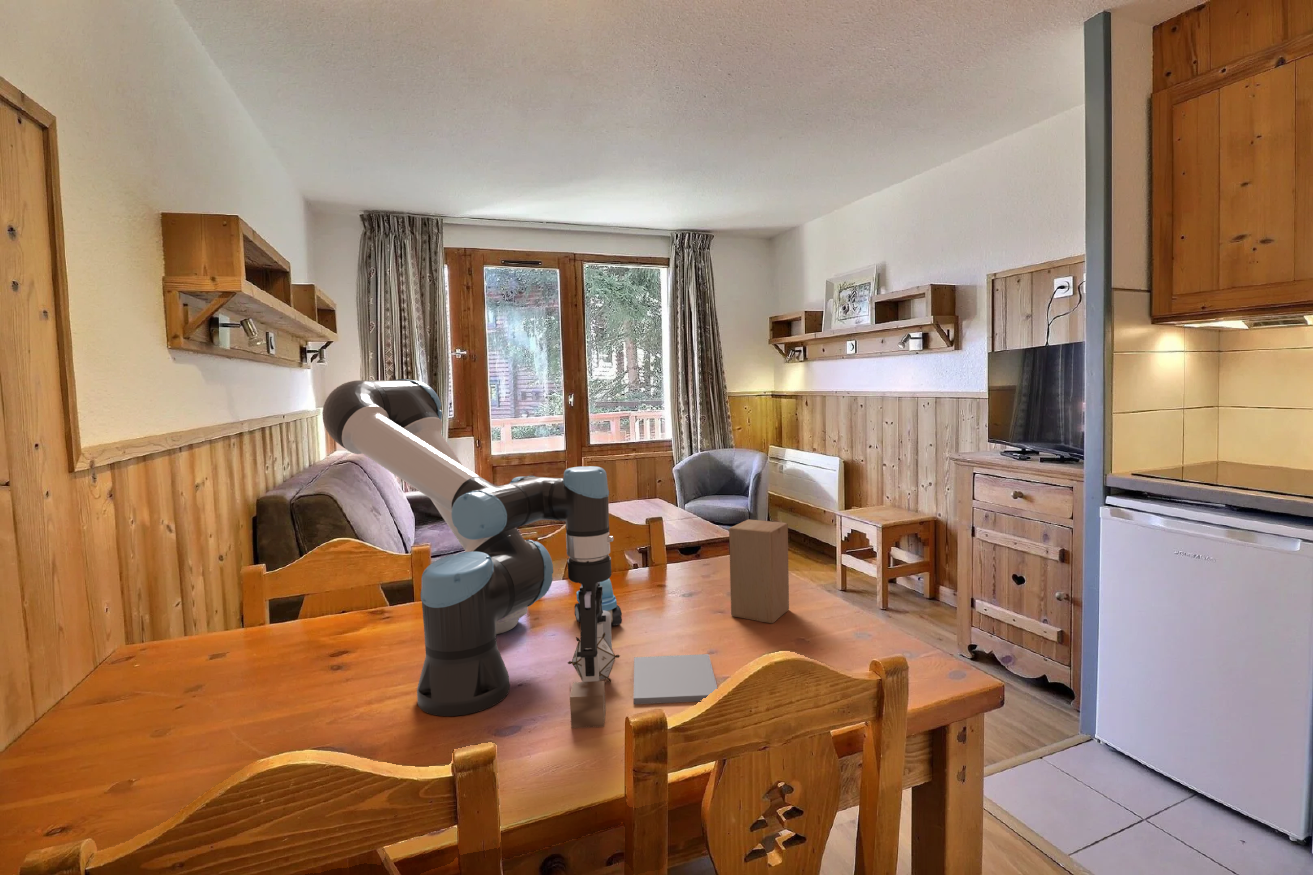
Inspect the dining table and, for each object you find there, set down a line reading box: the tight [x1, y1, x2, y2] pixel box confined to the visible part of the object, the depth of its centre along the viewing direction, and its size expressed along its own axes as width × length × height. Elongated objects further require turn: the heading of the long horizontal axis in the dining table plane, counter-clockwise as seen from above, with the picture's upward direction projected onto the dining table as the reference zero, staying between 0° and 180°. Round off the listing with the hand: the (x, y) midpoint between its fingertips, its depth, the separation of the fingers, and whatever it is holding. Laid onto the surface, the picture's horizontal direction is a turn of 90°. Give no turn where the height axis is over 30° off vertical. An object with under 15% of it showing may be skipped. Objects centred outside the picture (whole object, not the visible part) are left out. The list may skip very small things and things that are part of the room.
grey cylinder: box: [599, 610, 613, 649], centre depth 129 cm, size 5×5×7 cm
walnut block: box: [569, 680, 607, 729], centre depth 103 cm, size 5×5×5 cm
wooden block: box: [728, 519, 790, 624], centre depth 146 cm, size 10×10×20 cm
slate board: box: [632, 653, 718, 705], centre depth 115 cm, size 14×16×1 cm
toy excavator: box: [574, 578, 623, 626], centre depth 146 cm, size 9×17×17 cm, turn 21°
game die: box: [567, 633, 621, 683], centre depth 115 cm, size 9×8×10 cm
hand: (594, 674), depth 116 cm, fingers open, 13 cm apart
